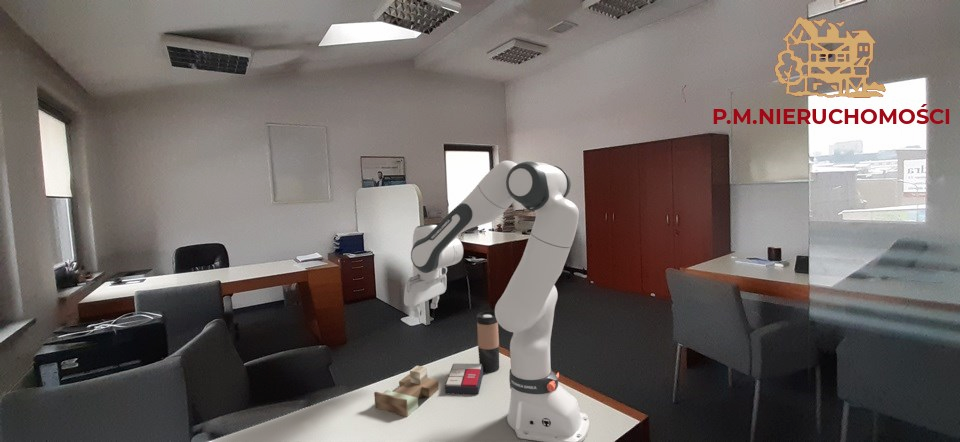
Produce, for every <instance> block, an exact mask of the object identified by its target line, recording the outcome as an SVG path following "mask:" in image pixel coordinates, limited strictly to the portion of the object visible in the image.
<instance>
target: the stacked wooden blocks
mask: <svg viewBox="0 0 960 442" xmlns="http://www.w3.org/2000/svg"><path fill="white" fill-rule="evenodd" d="M427 378H428V379H427V380H426V381H424V382H423V383H422V384H421V385H420V384H416V383H411V381H410V373H409V374H407V375H406V376H405V377H403V378H402V379H401V380H399V381H398V386H399V387H398V388H397V389H395V390H394V391H392V390H388V389H386V390H385V391H383V392H378V391H374V392H373V393H374V395H373V396H374V405H375V406H374V407H375V409H377V410H380V411H384V412H387V413H391V414H394V415H399V416H401V417H405V418H408V417H409V416H410V415H411V414H412V413H413V412H415V411H416V410H417V409H418V408H419V407H420V406H422V404H424V403H425V402H426V401H427V400H428V399H430V397H432V396H433V395H434V394H435V393H437V392H438V391H439V389H440V387H439V385H440V382H439V380H438V379H433V378H429V377H427Z"/></svg>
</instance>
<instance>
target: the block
mask: <svg viewBox="0 0 960 442" xmlns="http://www.w3.org/2000/svg"><path fill="white" fill-rule="evenodd" d="M409 374H410V381H411V383H416V384H420V385H421V384H422V383H423V382H424V381H426V380H427V379H428V378H429V377H428V367H426V366H423V365H422V366H421V365H416V366H414V367H413V368H412V369H410V370H409Z"/></svg>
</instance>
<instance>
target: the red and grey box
mask: <svg viewBox="0 0 960 442" xmlns="http://www.w3.org/2000/svg"><path fill="white" fill-rule="evenodd" d="M484 373H485V372H483V364H479V363H453V364H452V366H451V369H450V371H449V373H448V377H447V379H446V382H445V383H444V394H445V395H466V396H467V395H470V396H471V395H472V396H473V395H475V396H476V395H480V390H481V385H482V381H483V376H484Z"/></svg>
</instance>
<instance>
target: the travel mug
mask: <svg viewBox="0 0 960 442" xmlns="http://www.w3.org/2000/svg"><path fill="white" fill-rule="evenodd" d="M476 327H477V330H476V331H477V346H478V347H477V349H478V350H477V351H478V361H479V362H478V364H483V372H484V373H487V374H488V373H495V372H497V371H498V370H499V369H500V337H499V323H498V321H497V319H496V316H495V311H482V312H479V313H478V314H477V315H476Z"/></svg>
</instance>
